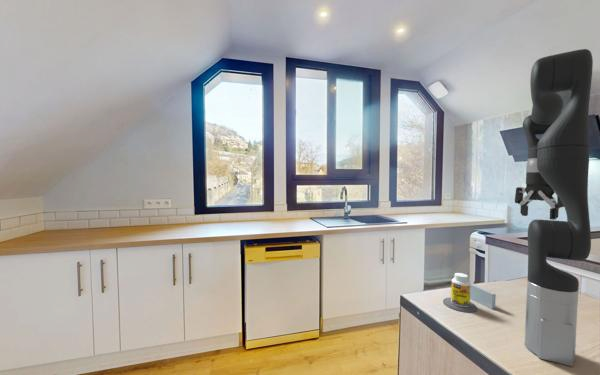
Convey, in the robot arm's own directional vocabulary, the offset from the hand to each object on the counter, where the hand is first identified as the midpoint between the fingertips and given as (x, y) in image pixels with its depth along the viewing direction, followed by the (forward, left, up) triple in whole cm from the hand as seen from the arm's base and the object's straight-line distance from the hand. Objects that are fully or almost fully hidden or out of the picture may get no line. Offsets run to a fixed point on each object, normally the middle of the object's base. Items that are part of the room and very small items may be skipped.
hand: (538, 217), depth 93 cm
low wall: (-10, +17, -30) cm, 36 cm away
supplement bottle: (-16, +24, -30) cm, 41 cm away
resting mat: (-16, +24, -30) cm, 42 cm away
